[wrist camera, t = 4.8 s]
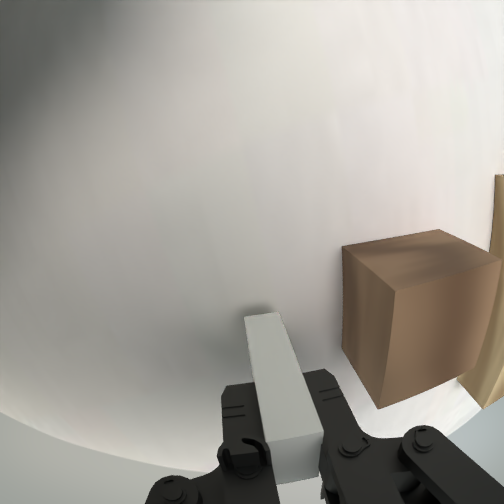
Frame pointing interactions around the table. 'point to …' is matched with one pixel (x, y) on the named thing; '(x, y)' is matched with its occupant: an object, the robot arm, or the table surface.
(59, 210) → the table surface
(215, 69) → the table surface
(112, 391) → the table surface
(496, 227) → the tan wooden bar
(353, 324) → the block
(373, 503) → the robot arm
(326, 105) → the table surface
